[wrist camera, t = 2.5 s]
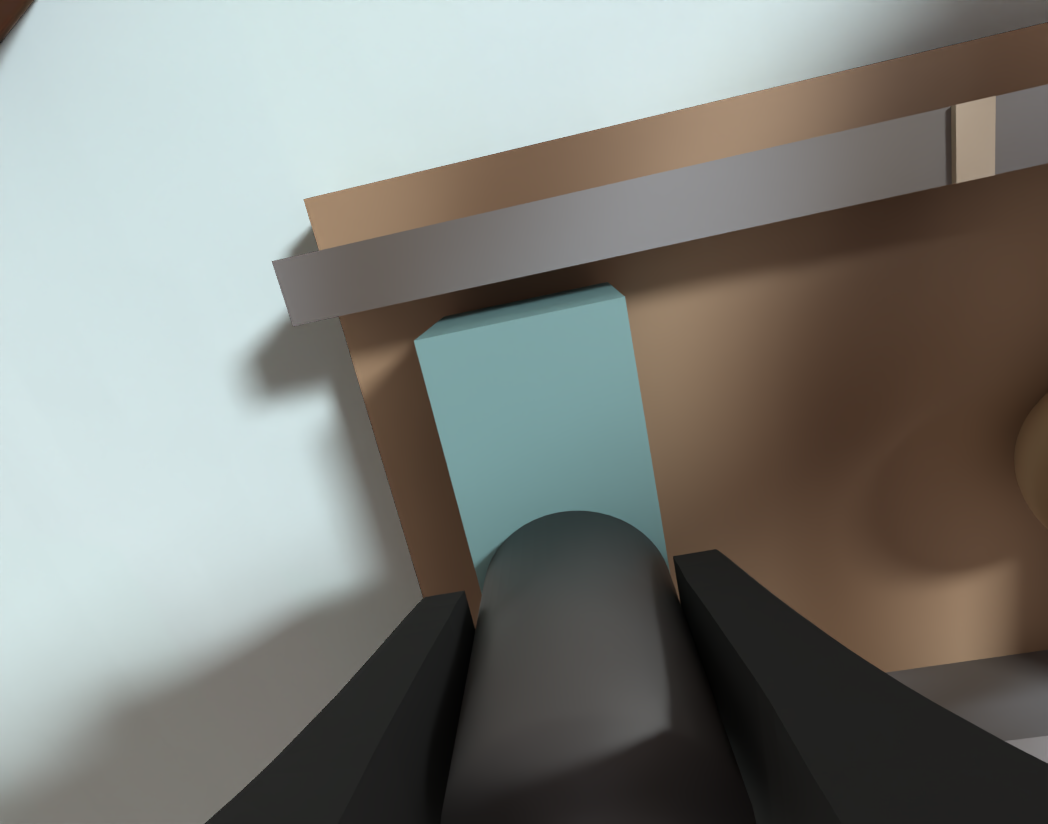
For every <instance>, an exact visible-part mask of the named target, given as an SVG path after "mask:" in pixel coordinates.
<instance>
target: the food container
mask: <svg viewBox="0 0 1048 824" xmlns="http://www.w3.org/2000/svg"><path fill="white" fill-rule="evenodd" d="M33 1H34V0H0V43H1V42H2V40H3V39H4V38H5V37H6V35H7V34H8V33H9V32H10V30H11V29H12V28H13V26H14V25H15V24H16V23H17V21H18V20H19V19H20V17H21V16H22V15H23V14H24V12H25V11H26V10H27V9H28V7H29V6H30V5H31V3H32V2H33Z"/></svg>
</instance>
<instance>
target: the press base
mask: <svg viewBox="0 0 1048 824" xmlns="http://www.w3.org/2000/svg"><path fill="white" fill-rule="evenodd" d="M304 202H305V206H306V209H307V212H308V216H309V219H310V222H311V226H312V229H313V232H314V236H315V239H316V242H317V246H318V249H319V251H315V252H310V253H306V254H302V255H297V256H293V257H289V258H284V259H280V260H275V261H272V263H273V266H274V269H275V273H276V276H277V279H278V282H279V285H280V288H281V291H282V294H283V297H284V300H285V303H286V307H287V310H288V313H289V316H290V319H291V322H292V325H293V326H297V325H301V324H306V323H311V322H315V321H320V320H325V319H329V318H334V317H338V316H339V319H340V322H341V325H342V329H343V332H344V335H345V339H346V342H347V345H348V349H349V352H350V355H351V359H352V362H353V365H354V369H355V372H356V375H357V379H358V382H359V385H360V389H361V392H362V395H363V399H364V402H365V405H366V409H367V412H368V415H369V419H370V422H371V425H372V429H373V432H374V435H375V439H376V442H377V445H378V449H379V452H380V455H381V459H382V462H383V465H384V469H385V472H386V475H387V479H388V482H389V485H390V489H391V492H392V495H393V499H394V502H395V505H396V509H397V512H398V515H399V519H400V522H401V525H402V529H403V532H404V535H405V539H406V542H407V545H408V549H409V552H410V555H411V559H412V562H413V565H414V569H415V572H416V575H417V579H418V582H419V585H420V589H421V592H422V595H423V598H424V597H428V596H434V595H440V594H446V593H452V592H458V591H464V590H465V594H466V598H467V601H468V605H469V608H470V612H471V616H472V619H473V623H474V627H475V629H476V624H477V619H478V613H479V608H480V602H481V597H482V594H481V590H480V586H479V583H478V579H477V575H476V571H475V568H474V564H473V560H472V556H471V553H470V549H469V545H468V541H467V538H466V534H465V530H464V527H463V523H462V519H461V515H460V512H459V508H458V504H457V500H456V497H455V493H454V489H453V485H452V482H451V478H450V474H449V471H448V467H447V463H446V459H445V456H444V452H443V448H442V444H441V441H440V437H439V433H438V429H437V426H436V422H435V418H434V414H433V411H432V407H431V403H430V400H429V396H428V392H427V388H426V385H425V381H424V377H423V373H422V370H421V366H420V362H419V358H418V355H417V351H416V347H415V344H414V340H416V339H417V338H418V337H419V336H420V335H422V334H423V333H424V332H425V331H427V330H428V329H429V328H430V327H432V326H433V325H434V324H435V323H436V322H438V321H439V320H440V319H441V318H443V317H444V316H449V315H454V314H459V313H463V312H468V311H473V310H477V309H482V308H487V307H492V306H496V305H501V304H506V303H510V302H515V301H520V300H525V299H529V298H534V297H539V296H543V295H548V294H553V293H558V292H562V291H567V290H572V289H576V288H581V287H586V286H591V285H595V284H600V283H605V282H608V283H609V284H611V285H612V286H613V287H614V288H615V289H616V290H618V291H619V292H620V293H621V294H622V295H624V296H625V300H626V306H627V312H628V318H629V324H630V331H631V337H632V343H633V349H634V355H635V361H636V367H637V373H638V380H639V386H640V392H641V398H642V404H643V410H644V416H645V422H646V429H647V435H648V441H649V447H650V453H651V459H652V465H653V471H654V478H655V484H656V490H657V496H658V502H659V508H660V514H661V520H662V527H663V533H664V539H665V545H666V551H667V557H668V563H669V569H670V575H671V578H672V581H673V583H674V586H675V589H676V592H677V595H678V598H679V591H678V585H677V579H676V573H675V566H674V560H673V556H677V555H683V554H689V553H695V552H701V551H707V550H713V549H717V550H718V551H720V552H721V553H723V554H724V555H725V556H727V557H728V558H729V559H730V560H732V561H733V562H734V563H735V564H737V565H738V566H739V567H740V568H741V569H743V570H744V571H745V572H746V573H748V574H749V575H750V576H751V577H752V578H754V579H755V580H756V581H757V582H759V583H760V584H761V585H762V586H764V587H765V588H766V589H768V590H769V591H770V592H771V593H773V594H774V595H775V596H777V597H778V598H779V599H780V600H782V601H783V602H784V603H786V604H787V605H788V606H790V607H791V608H792V609H794V610H795V611H796V612H798V613H799V614H800V615H802V616H803V617H805V618H806V619H807V620H809V621H810V622H812V623H813V624H814V625H816V626H817V627H818V628H820V629H821V630H823V631H824V632H825V633H827V634H828V635H830V636H831V637H832V638H834V639H835V640H837V641H838V642H840V643H841V644H842V645H844V646H845V647H847V648H848V649H850V650H851V651H853V652H854V653H856V654H857V655H859V656H860V657H862V658H863V659H865V660H866V661H868V662H869V663H871V664H873V665H874V666H876V667H877V668H879V669H880V670H882V671H884V672H885V673H887V674H888V675H890V676H891V677H893V678H894V679H896V680H898V681H899V682H901V683H903V684H904V685H906V686H907V687H909V688H911V689H913V690H914V691H916V692H918V693H919V694H921V695H923V696H924V697H926V698H928V699H929V700H931V701H933V702H935V703H936V704H938V705H940V706H942V707H944V708H945V709H947V710H949V711H951V712H953V713H955V714H956V715H958V716H960V717H962V718H964V719H965V720H967V721H969V722H971V723H973V724H974V725H976V726H978V727H980V728H982V729H983V730H985V731H987V732H989V733H991V734H993V735H994V736H996V737H998V738H1000V739H1002V740H1003V741H1005V742H1007V743H1009V744H1011V745H1013V746H1015V747H1017V748H1019V749H1021V750H1023V751H1024V752H1026V753H1028V754H1030V755H1032V756H1034V757H1036V758H1038V759H1040V760H1042V761H1044V762H1046V763H1048V22H1047V23H1043V24H1038V25H1034V26H1030V27H1026V28H1022V29H1017V30H1013V31H1009V32H1005V33H1001V34H996V35H992V36H988V37H984V38H980V39H975V40H971V41H967V42H963V43H959V44H954V45H950V46H946V47H942V48H938V49H933V50H929V51H925V52H921V53H917V54H912V55H908V56H904V57H900V58H895V59H891V60H887V61H883V62H879V63H874V64H870V65H866V66H862V67H858V68H853V69H849V70H845V71H841V72H837V73H832V74H828V75H824V76H820V77H816V78H811V79H807V80H803V81H799V82H795V83H790V84H786V85H782V86H778V87H774V88H769V89H765V90H761V91H757V92H753V93H748V94H744V95H740V96H736V97H732V98H727V99H723V100H719V101H715V102H710V103H706V104H702V105H698V106H694V107H689V108H685V109H681V110H677V111H673V112H668V113H664V114H660V115H656V116H652V117H647V118H643V119H639V120H635V121H631V122H626V123H622V124H618V125H614V126H610V127H605V128H601V129H597V130H593V131H589V132H584V133H580V134H576V135H572V136H568V137H563V138H559V139H555V140H551V141H546V142H542V143H538V144H534V145H530V146H525V147H521V148H517V149H513V150H509V151H504V152H500V153H496V154H492V155H488V156H483V157H479V158H475V159H471V160H467V161H462V162H458V163H454V164H450V165H446V166H441V167H437V168H433V169H429V170H425V171H420V172H416V173H412V174H408V175H404V176H399V177H395V178H391V179H387V180H382V181H378V182H374V183H370V184H366V185H361V186H357V187H353V188H349V189H345V190H340V191H336V192H332V193H328V194H324V195H319V196H315V197H311V198H307V199H304ZM679 600H680V598H679Z"/></svg>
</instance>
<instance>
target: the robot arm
mask: <svg viewBox="0 0 1048 824" xmlns="http://www.w3.org/2000/svg"><path fill="white" fill-rule="evenodd" d="M673 560H674V566H675V573H676V579H677V585H678V591H679V598H680V604H681V606H682V609H683V612H684V615H685V618H686V620H687V623H688V626H689V629H690V632H691V635H692V637H693V640H694V643H695V646H696V649H697V652H698V654H699V657H700V660H701V662H702V665H703V668H704V671H705V674H706V676H707V679H708V682H709V685H710V688H711V691H712V693H713V696H714V699H715V702H716V705H717V708H718V710H719V713H720V716H721V719H722V722H723V724H724V727H725V730H726V733H727V736H728V739H729V741H730V744H731V747H732V750H733V753H734V755H735V758H736V761H737V764H738V767H739V770H740V772H741V775H742V778H743V781H744V784H745V786H746V789H747V792H748V795H749V798H750V801H751V803H752V806H753V810H754V814H755V819H756V824H1048V763H1046V762H1044V761H1042V760H1040V759H1038V758H1036V757H1034V756H1032V755H1030V754H1028V753H1026V752H1024V751H1023V750H1021V749H1019V748H1017V747H1015V746H1013V745H1011V744H1009V743H1007V742H1005V741H1003V740H1002V739H1000V738H998V737H996V736H994V735H993V734H991V733H989V732H987V731H985V730H983V729H982V728H980V727H978V726H976V725H974V724H973V723H971V722H969V721H967V720H965V719H964V718H962V717H960V716H958V715H956V714H955V713H953V712H951V711H949V710H947V709H945V708H944V707H942V706H940V705H938V704H936V703H935V702H933V701H931V700H929V699H928V698H926V697H924V696H923V695H921V694H919V693H918V692H916V691H914V690H913V689H911V688H909V687H907V686H906V685H904V684H903V683H901V682H899V681H898V680H896V679H894V678H893V677H891V676H890V675H888V674H887V673H885V672H884V671H882V670H880V669H879V668H877V667H876V666H874V665H873V664H871V663H869V662H868V661H866V660H865V659H863V658H862V657H860V656H859V655H857V654H856V653H854V652H853V651H851V650H850V649H848V648H847V647H845V646H844V645H842V644H841V643H840V642H838V641H837V640H835V639H834V638H832V637H831V636H830V635H828V634H827V633H825V632H824V631H823V630H821V629H820V628H818V627H817V626H816V625H814V624H813V623H812V622H810V621H809V620H807V619H806V618H805V617H803V616H802V615H800V614H799V613H798V612H796V611H795V610H794V609H792V608H791V607H790V606H788V605H787V604H786V603H784V602H783V601H782V600H780V599H779V598H778V597H777V596H775V595H774V594H773V593H771V592H770V591H769V590H768V589H766V588H765V587H764V586H762V585H761V584H760V583H759V582H757V581H756V580H755V579H754V578H752V577H751V576H750V575H749V574H748V573H746V572H745V571H744V570H743V569H741V568H740V567H739V566H738V565H737V564H735V563H734V562H733V561H732V560H730V559H729V558H728V557H727V556H725V555H724V554H723V553H721V552H720V551H718V550H717V549H713V550H707V551H701V552H695V553H689V554H683V555H677V556H673ZM474 635H475V627H474V623H473V619H472V616H471V612H470V608H469V605H468V601H467V598H466V594H465V590H464V591H458V592H452V593H446V594H440V595H434V596H428V597H424V598H423V599H422V600H421V601H420V602H419V603H418V604H417V605H416V607H415V608H414V609H413V610H412V611H411V612H410V613H409V614H408V615H407V616H406V618H405V619H404V620H403V621H402V622H401V623H400V624H399V626H398V627H397V628H396V629H395V630H394V631H393V632H392V634H391V635H390V636H389V637H388V638H387V639H386V640H385V642H384V643H383V644H382V645H381V646H380V647H379V648H378V650H377V651H376V652H375V653H374V654H373V655H372V656H371V657H370V659H369V660H368V661H367V662H366V663H365V664H364V665H363V666H362V668H361V669H360V670H359V671H358V672H357V673H356V674H355V675H354V677H353V678H352V679H351V680H350V681H349V682H348V683H347V684H346V685H345V687H344V688H343V689H342V690H341V691H340V692H339V693H338V694H337V695H336V696H335V698H334V699H333V700H332V701H331V702H330V703H329V704H328V705H327V706H326V707H325V708H324V709H323V710H322V711H321V712H320V713H319V714H318V715H317V716H316V717H315V718H314V719H313V720H312V721H311V722H310V723H309V724H308V725H307V726H306V727H305V728H304V729H303V731H302V732H301V733H300V734H299V735H298V736H297V737H296V738H295V739H294V740H293V741H292V742H291V743H290V744H289V745H288V746H287V747H286V748H285V749H284V750H283V751H282V752H281V753H280V754H279V755H278V756H277V757H276V758H275V759H274V760H273V761H272V762H271V763H270V764H269V765H268V766H267V767H266V768H265V769H264V770H263V771H262V772H261V773H260V774H259V775H258V776H257V777H256V778H254V779H253V780H252V781H251V782H250V783H249V784H248V785H247V786H246V787H245V788H244V789H243V790H242V791H241V792H239V793H238V794H237V795H236V796H235V797H234V798H233V799H232V800H231V801H230V802H228V803H227V804H226V805H225V806H224V807H223V808H222V809H221V810H219V811H218V812H217V813H216V814H215V815H214V816H213V817H212V818H210V819H209V820H208V821H207V822H206V823H205V824H441V814H442V809H443V803H444V798H445V792H446V787H447V782H448V776H449V771H450V765H451V760H452V754H453V749H454V744H455V738H456V733H457V727H458V722H459V716H460V711H461V705H462V700H463V695H464V689H465V684H466V678H467V673H468V667H469V662H470V657H471V651H472V646H473V640H474Z"/></svg>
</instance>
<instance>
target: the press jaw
mask: <svg viewBox="0 0 1048 824" xmlns="http://www.w3.org/2000/svg"><path fill="white" fill-rule="evenodd" d="M414 344H415V347H416V351H417V355H418V358H419V362H420V366H421V370H422V373H423V377H424V381H425V385H426V388H427V392H428V396H429V400H430V403H431V407H432V411H433V414H434V418H435V422H436V426H437V429H438V433H439V437H440V441H441V444H442V448H443V452H444V456H445V459H446V463H447V467H448V471H449V474H450V478H451V482H452V485H453V489H454V493H455V497H456V500H457V504H458V508H459V512H460V515H461V519H462V523H463V527H464V530H465V534H466V538H467V541H468V545H469V549H470V553H471V556H472V560H473V564H474V568H475V571H476V575H477V579H478V583H479V586H480V590H481V594H482V597H481V602H480V608H479V613H478V619H477V624H476V629H475V635H474V640H473V646H472V651H471V657H470V662H469V667H468V673H467V678H466V684H465V689H464V695H463V700H462V705H461V711H460V716H459V722H458V727H457V733H456V738H455V744H454V749H453V754H452V760H451V765H450V771H449V776H448V782H447V787H446V792H445V798H444V803H443V809H442V814H441V824H756V819H755V814H754V810H753V806H752V803H751V801H750V798H749V795H748V792H747V789H746V786H745V784H744V781H743V778H742V775H741V772H740V770H739V767H738V764H737V761H736V758H735V755H734V753H733V750H732V747H731V744H730V741H729V739H728V736H727V733H726V730H725V727H724V724H723V722H722V719H721V716H720V713H719V710H718V708H717V705H716V702H715V699H714V696H713V693H712V691H711V688H710V685H709V682H708V679H707V676H706V674H705V671H704V668H703V665H702V662H701V660H700V657H699V654H698V652H697V649H696V646H695V643H694V640H693V637H692V635H691V632H690V629H689V626H688V623H687V620H686V618H685V615H684V612H683V609H682V606H681V604H680V600H679V598H678V595H677V592H676V589H675V586H674V583H673V581H672V578H671V575H670V569H669V563H668V557H667V551H666V545H665V539H664V533H663V527H662V520H661V514H660V508H659V502H658V496H657V490H656V484H655V478H654V471H653V465H652V459H651V453H650V447H649V441H648V435H647V429H646V422H645V416H644V410H643V404H642V398H641V392H640V386H639V380H638V373H637V367H636V361H635V355H634V349H633V343H632V337H631V331H630V324H629V318H628V312H627V306H626V300H625V296H624V295H622V294H621V293H620V292H619V291H618V290H616V289H615V288H614V287H613V286H612V285H611V284H609V283H608V282H605V283H600V284H595V285H591V286H586V287H581V288H576V289H572V290H567V291H562V292H558V293H553V294H548V295H543V296H539V297H534V298H529V299H525V300H520V301H515V302H510V303H506V304H501V305H496V306H492V307H487V308H482V309H477V310H473V311H468V312H463V313H459V314H454V315H449V316H444V317H443V318H441V319H440V320H439V321H438V322H436V323H435V324H434V325H433V326H432V327H430V328H429V329H428V330H427V331H425V332H424V333H423V334H422V335H420V336H419V337H418V338H417V339H416V340H414Z"/></svg>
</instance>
